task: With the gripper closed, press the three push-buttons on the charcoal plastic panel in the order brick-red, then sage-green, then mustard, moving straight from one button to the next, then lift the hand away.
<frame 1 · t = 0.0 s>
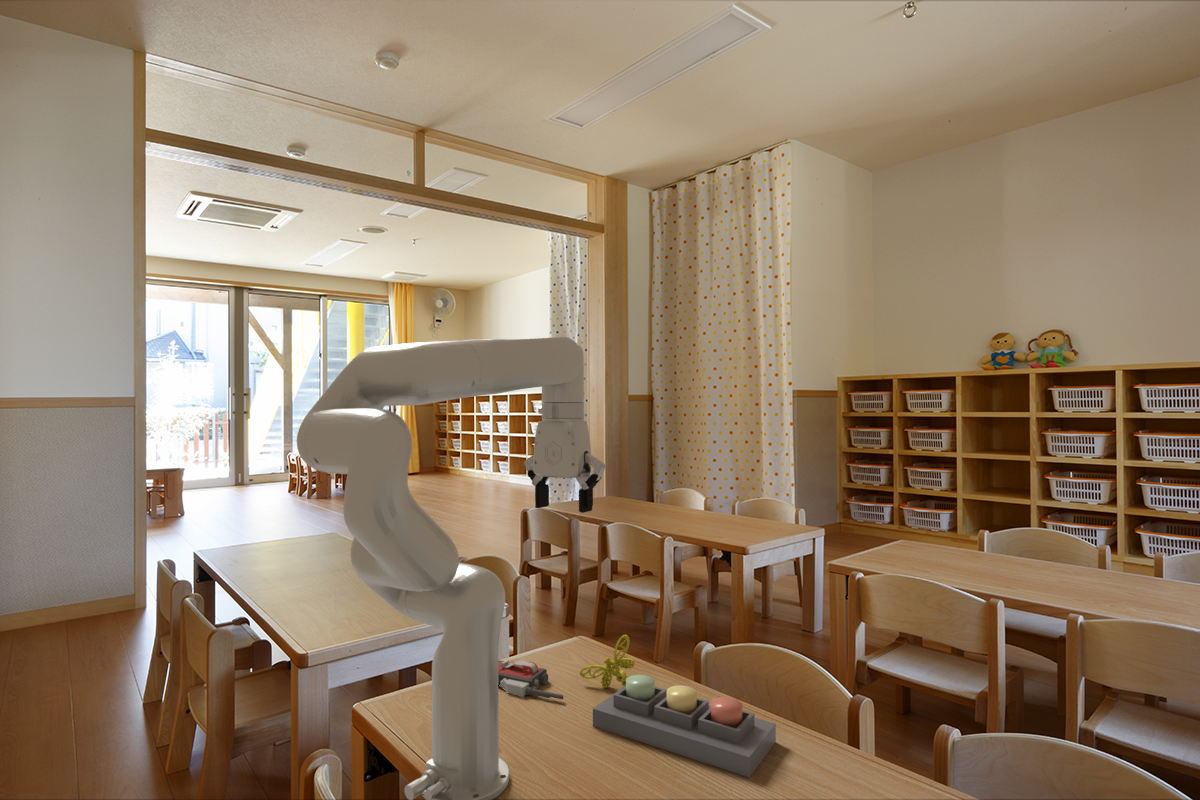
hand: (563, 509, 113), 37 cm above the table, tool pointing down, fingers open, 9 cm apart
sage button: (640, 687, 111), point 6 cm above the table, slide at 0.0 cm
decorative insect: (610, 687, 125), on the table
mustard button: (681, 699, 106), point 6 cm above the table, slide at 0.0 cm
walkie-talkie: (526, 689, 125), on the table
red button: (726, 711, 102), point 6 cm above the table, slide at 0.0 cm
button panel: (681, 733, 106), on the table
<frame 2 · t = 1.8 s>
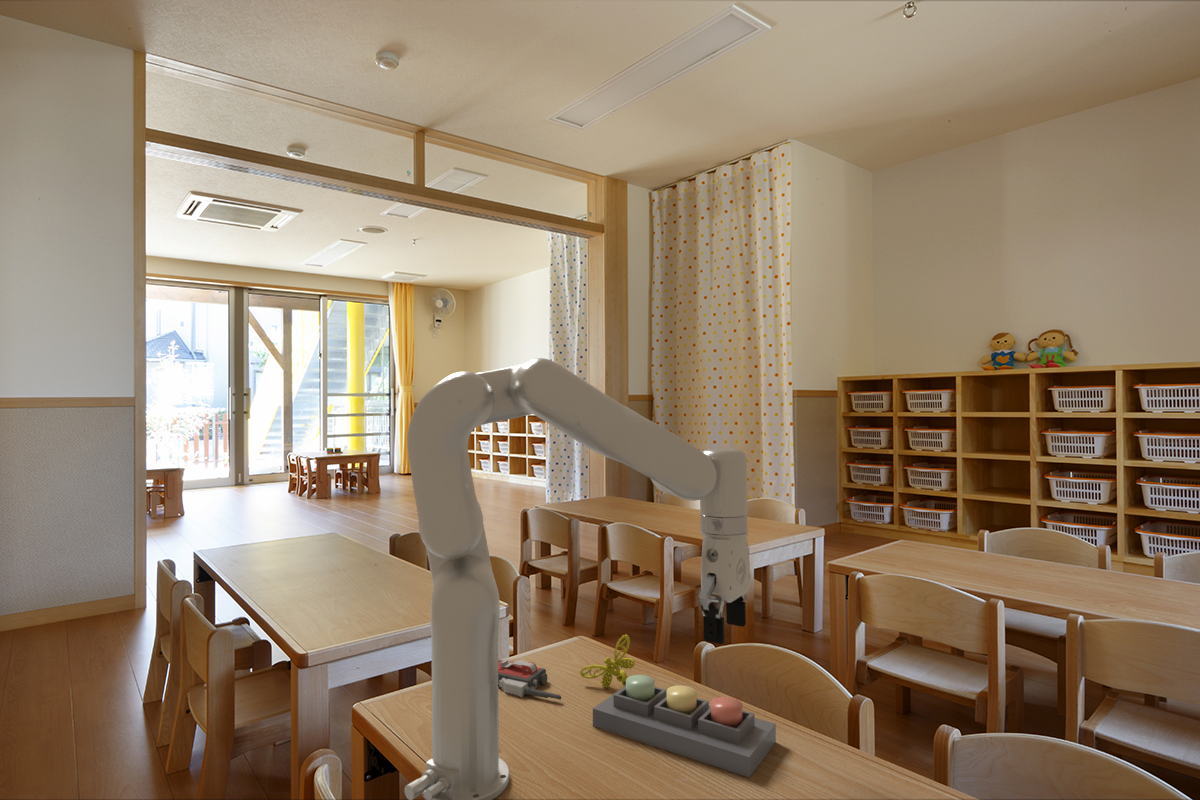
hand: (725, 632, 102), 18 cm above the table, tool pointing down, fingers open, 8 cm apart
nothing on the table moved.
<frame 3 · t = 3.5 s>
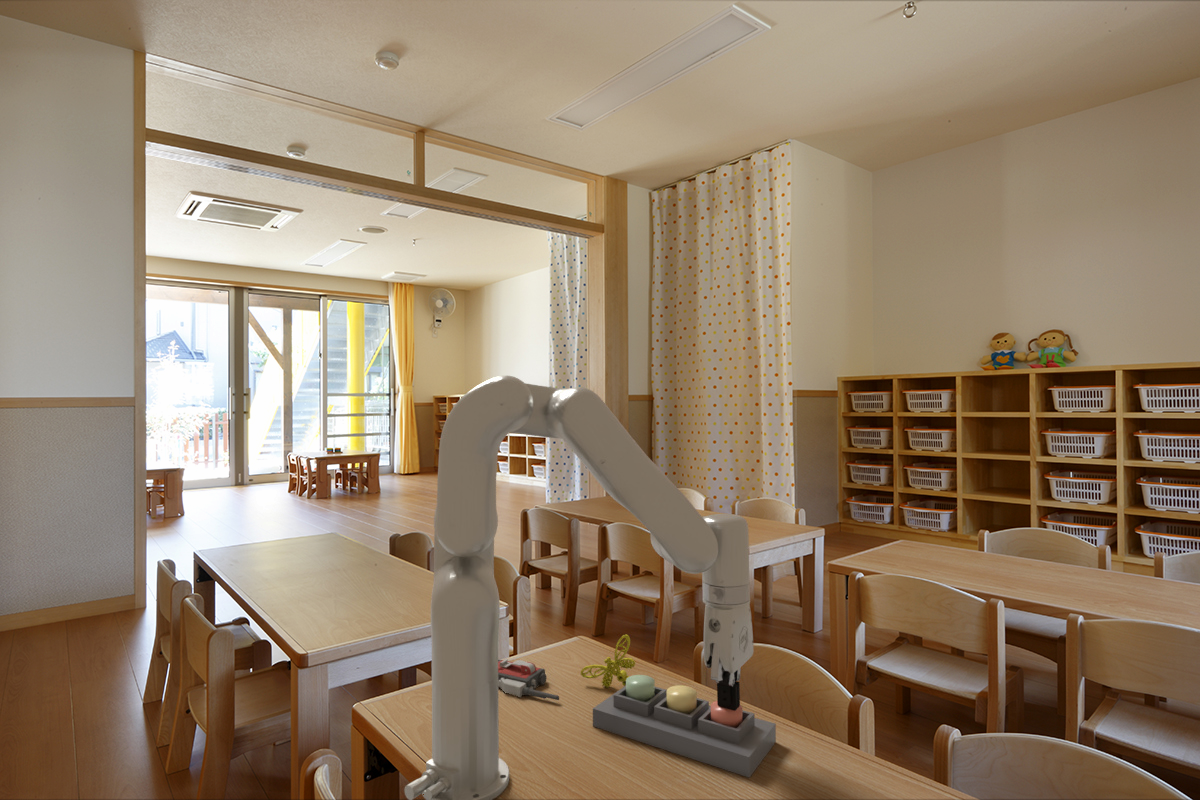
hand: (728, 706, 102), 7 cm above the table, tool pointing down, fingers closed
red button: (726, 714, 102), point 5 cm above the table, slide at 0.5 cm, touching gripper
everything else where it was.
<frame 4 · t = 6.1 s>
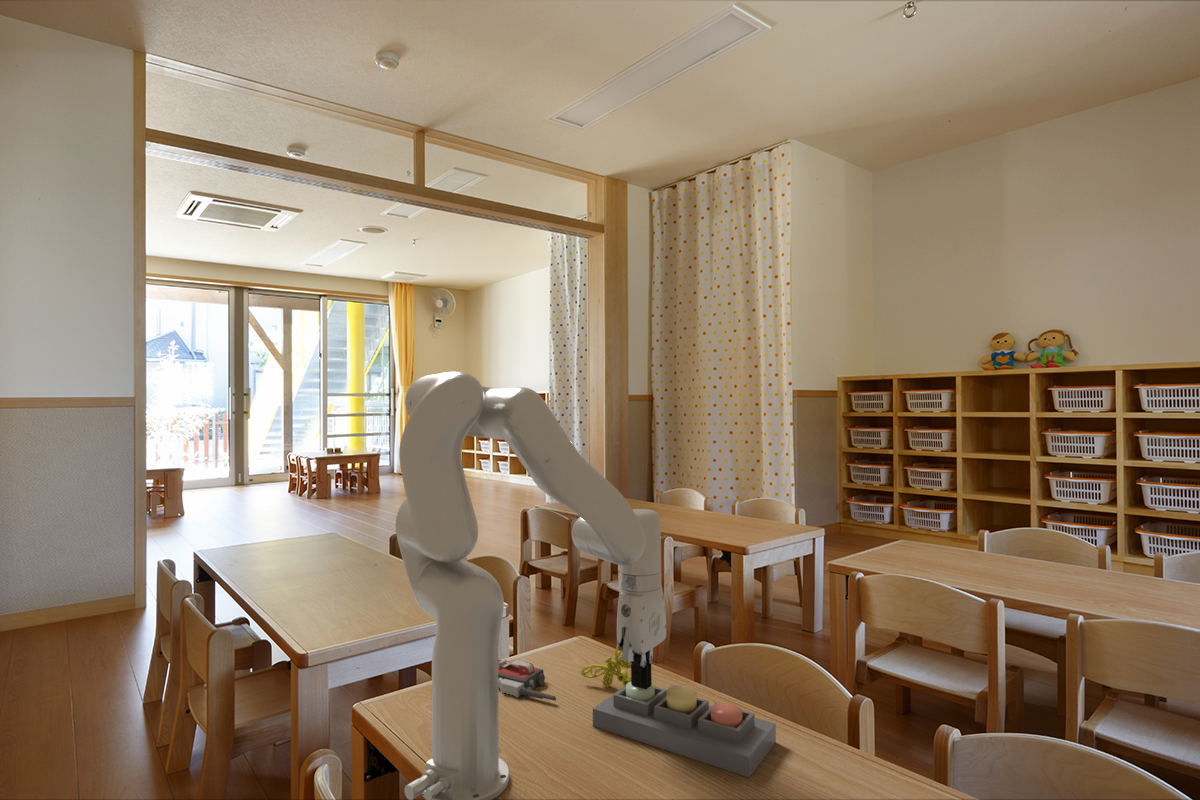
hand: (641, 685, 111), 6 cm above the table, tool pointing down, fingers closed
sage button: (640, 693, 111), point 5 cm above the table, slide at 1.0 cm, touching gripper
red button: (726, 718, 102), point 5 cm above the table, slide at 1.0 cm
everything else where it was.
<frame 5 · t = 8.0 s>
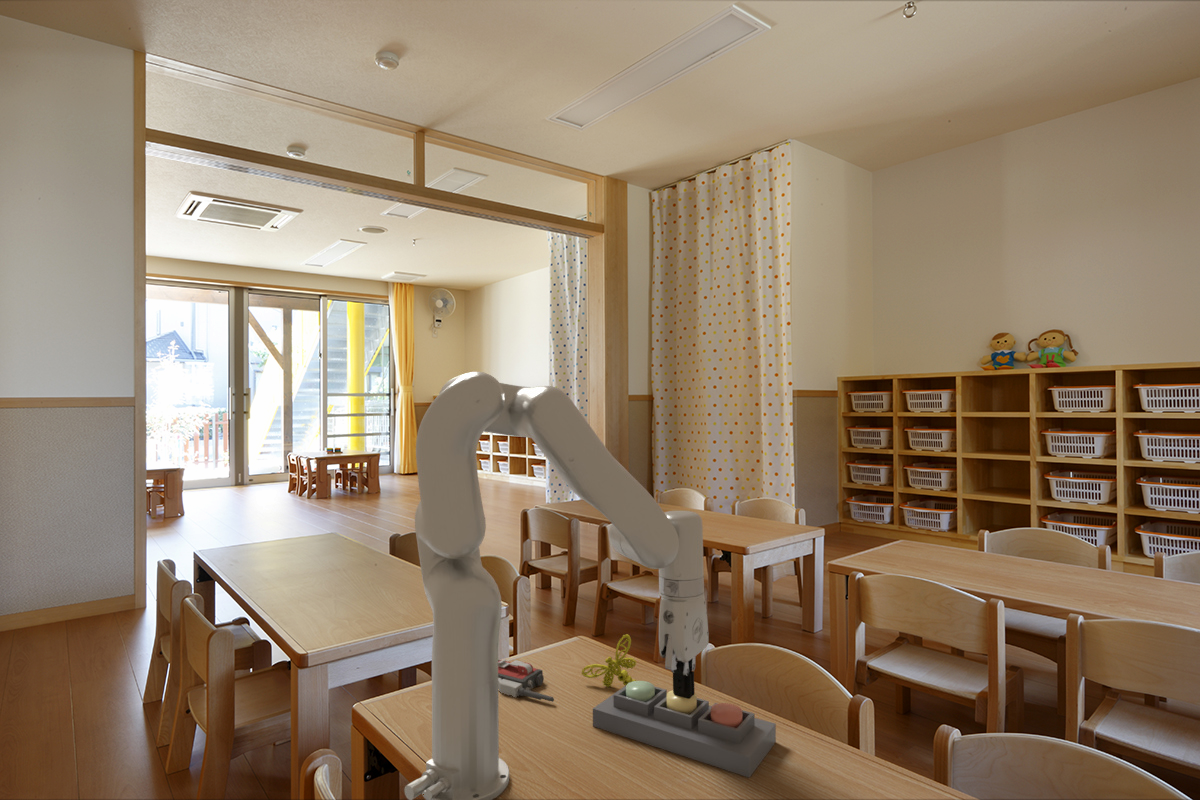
hand: (683, 694, 106), 6 cm above the table, tool pointing down, fingers closed
sage button: (640, 694, 111), point 5 cm above the table, slide at 1.1 cm
mustard button: (681, 703, 106), point 5 cm above the table, slide at 0.7 cm, touching gripper
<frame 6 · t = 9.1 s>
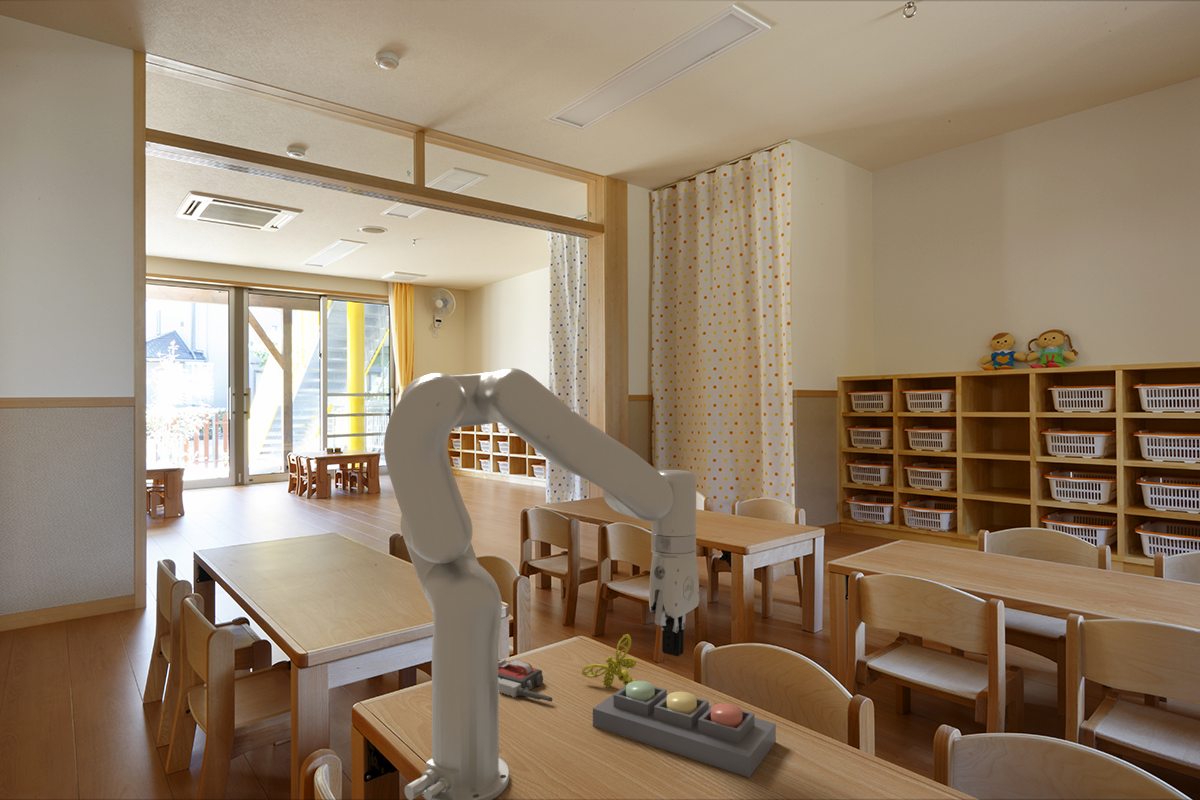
hand: (672, 653, 106), 13 cm above the table, tool pointing down, fingers closed
mustard button: (681, 705, 106), point 5 cm above the table, slide at 1.1 cm
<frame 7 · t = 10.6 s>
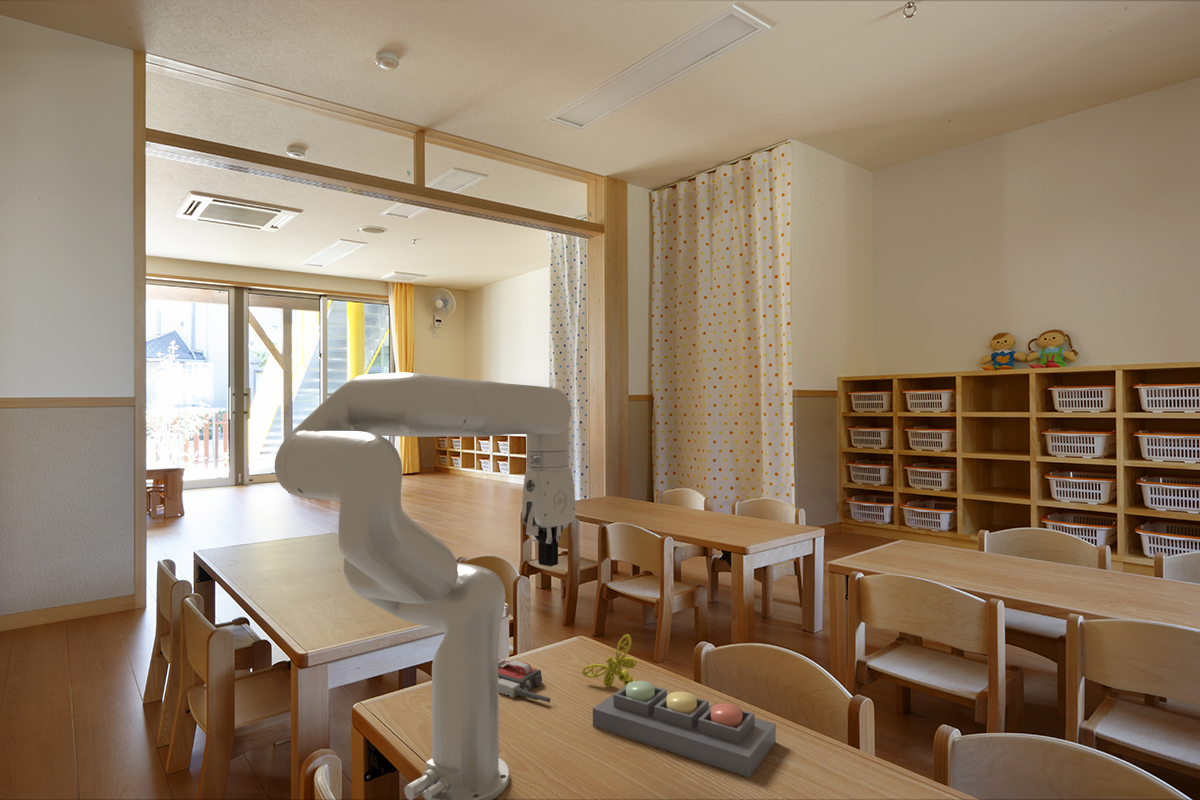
hand: (548, 564, 112), 27 cm above the table, tool pointing down, fingers closed
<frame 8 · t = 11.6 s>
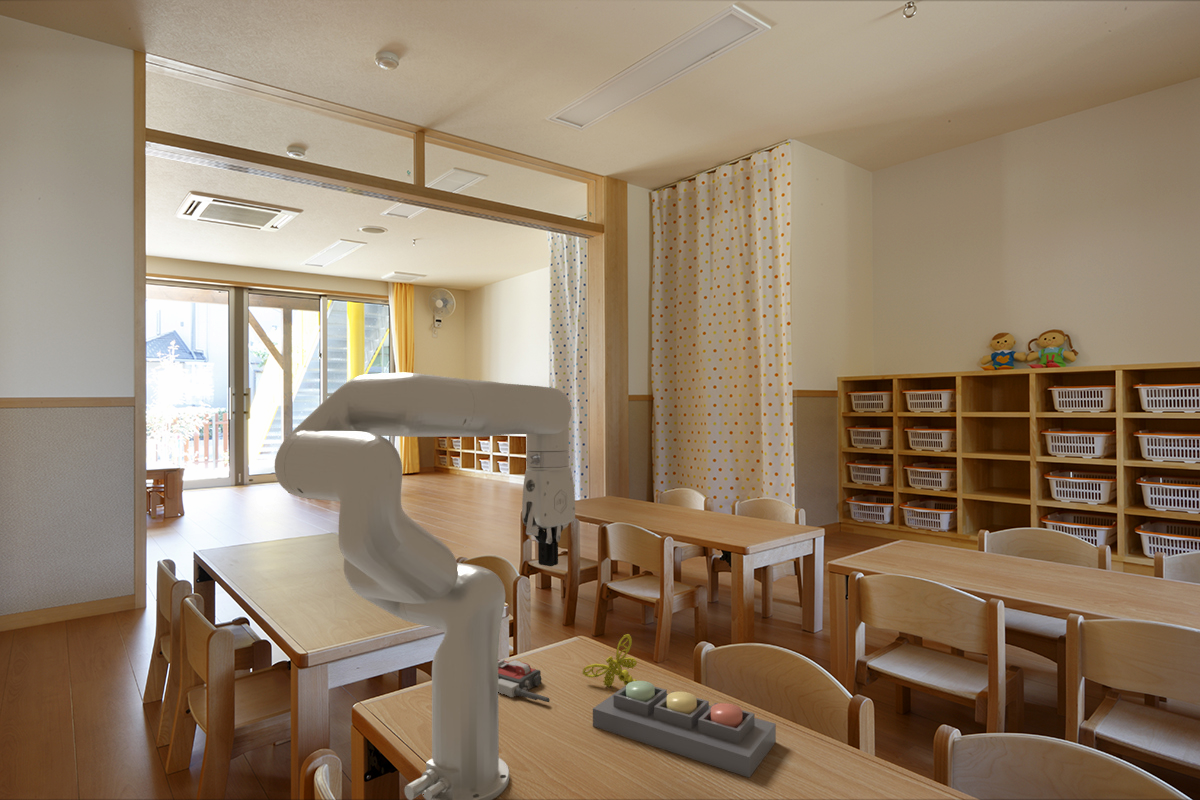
hand: (548, 564, 112), 27 cm above the table, tool pointing down, fingers closed
at the end: red button slide at 1.0 cm; sage button slide at 1.1 cm; mustard button slide at 1.1 cm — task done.
